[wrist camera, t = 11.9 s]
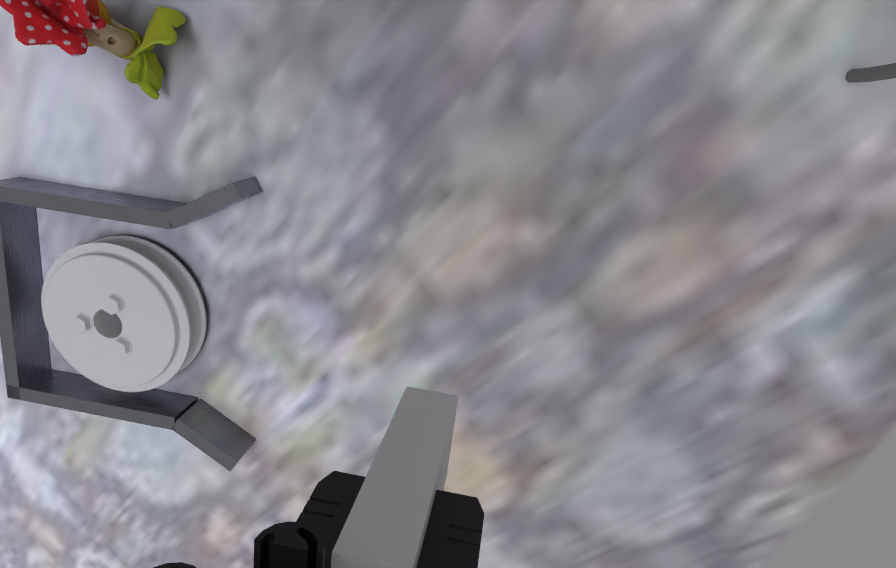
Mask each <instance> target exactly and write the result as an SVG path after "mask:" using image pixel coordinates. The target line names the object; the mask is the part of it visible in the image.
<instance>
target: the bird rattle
mask: <svg viewBox="0 0 896 568" xmlns="http://www.w3.org/2000/svg"><path fill="white" fill-rule="evenodd" d="M0 6H1V7H3V8H4V9H5V10H6V11H8V12H9V13H11V14H12V15H13V19H14V26H15V36H16V38H17V39H18V40H19V41H20V42H21V43H22V44H24V45H37V44H39V45H44V44H56V45H58V46H59V47H60V48H61V49H63V50H64V51H65V52H67V53H68V54H70V55H72V56H78V55H82V54H85V53H86V51H87V47H88V46H98V47H100V48H102V49H105V50H107V51H110V52H112V53H113V54H115V55H117V56H119V57H121V58H124V59H127V60H132V61H131V62H130V63H129V64H128V65H127V67H126V69H125V76H126V78H127V80H128V81H130V82H131V83H137V84H138V85H139V86H140V87H141V89H142V91H144V92H145V93H146V94H147V95H149V96H150V97H152V98H153V99H158V98H159V93H158V91H159V89H160V88H161V86H162V77H163V74H164V71H163V68H162V66H161V65H160V63H159V61H158V59H157V56H156V55H155V53H154V52H152V51H151V50H152V49H154V47H155V46H156V44H157V43H158V44H163V45H167V46H170V45H173V44H175V43H176V41H177V33H176V32H175V30H174V29H173V27H179V26H180V25H182V24H184V23H185V21H186V20H185V18H184V16H183V14H182V13H181V12H179V11H176V10H173V9H170V8H164V7H161V6H159V7H157V8H156V10H155V13H154V15H153V17H152V19H151V21H150V23H149V25H148V28H147V30H146V33H145V35H144V38H143V37H142V36H141V35H140V34H139V33H138V32H136V31H134V30H132V29H128V28H126V27H125V26H123V25H122V24H120V23H118V22H117V21H115V20H113V19H112V18H111V17H110V14H109V12H108V10H107V8H106V7H105V5H104V4H103V3H102V2H101V1H100V0H0Z"/></svg>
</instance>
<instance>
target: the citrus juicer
mask: <svg viewBox="0 0 896 568" xmlns="http://www.w3.org/2000/svg"><path fill="white" fill-rule="evenodd" d="M891 78H896V63H893V64H887V65H881V66H875V67H869V68H862V69H853V70H850V71H849V72H848V73H847V75H846V80H847V81H848V82H870V81H878V80H885V79H891Z"/></svg>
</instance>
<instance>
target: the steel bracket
mask: <svg viewBox="0 0 896 568" xmlns="http://www.w3.org/2000/svg"><path fill="white" fill-rule="evenodd" d="M260 192H262V190H261V187H260V185H259V183H258V181H257V179H256V177H254V178H250V179H246V180H243V181H239V182H236V183H233V184H230V185H228V186H226V187H224V188H222V189H219V190H217V191H215V192H213V193H210V194H208V195H206V196H204V197H202V198H199V199H197V200H195V201H193V202H190V203H188V204H186V203H180V202H173V201H167V200H161V199H154V198H148V197H142V196H135V195H129V194H123V193H116V192H110V191H104V190H97V189H91V188H85V187H78V186H72V185H65V184H59V183H53V182H46V181H40V180H34V179H27V178H21V177H18V178H11V179H5V180H0V338H1V346H2V354H3V363H4V371H5V379H6V387H7V395H8V398H14V399H19V400H24V401H29V402H34V403H39V404H44V405H49V406H54V407H59V408H64V409H69V410H74V411H79V412H84V413H90V414H95V415H100V416H105V417H110V418H115V419H120V420H125V421H130V422H135V423H140V424H145V425H150V426H155V427H161V428H166V429H171V430H174V431H175V432H176V433H178V434H179V435H181V436H182V437H183V438H185V439H186V440H188V441H189V442H190V443H192V444H193V445H195V446H196V447H197V448H199V449H200V450H201V451H203V452H204V453H206V454H207V455H208V456H210V457H211V458H213V459H214V460H215V461H217V462H218V463H220V464H221V465H222V466H224V467H225V468H226V469H228V470H229V471H231V470H232V469H233V467H234V466H235V465H236V464H237V463H238V461H239V460H240V459H241V458H242V456H243V455H244V454H245V453H246V452H247V450H248V449H249V448H250V447H251V445H252V444H253V443H254V441H255V440H256V439H255V438H254V437H252V436H251V435H250V434H248V433H247V432H245V431H244V430H243V429H241V428H240V427H239V426H237V425H236V424H234V423H233V422H232V421H230V420H229V419H228V418H226V417H225V416H223V415H222V414H221V413H219V412H218V411H217V410H215V409H214V408H212V407H211V406H210V405H208V404H207V403H206V402H204V401H203V400H201V399H200V400H199V401H198V402H197V397H193V396H187V395H182V394H177V393H172V392H166V391H161V390H156V389H150V390H146V391H140V392H124V391H118V390H113V389H110V388H107V387H104V386H102V385H99V384H97V383H95V382H93V381H92V380H90V379H88V378H86V377H85V376H83V375H77V374H72V373H67V372H62V371H56V370H51V363H50V352H49V342H48V332H47V328H46V325H45V322H44V318H43V313H42V306H41V294H42V287H43V280H42V269H41V259H40V248H39V238H38V228H37V217H36V207H37V208H43V209H49V210H56V211H62V212H68V213H74V214H80V215H86V216H92V217H99V218H105V219H111V220H117V221H123V222H129V223H136V224H142V225H148V226H154V227H160V228H166V229H172V228H177V227H180V226H182V225H185V224H188V223H191V222H193V221H196V220H199V219H201V218H204V217H206V216H208V215H210V214H213V213H215V212H217V211H220V210H222V209H224V208H226V207H229V206H231V205H233V204H235V203H238V202H240V201H242V200H245V199H247V198H249V197H251V196H254V195H256V194H258V193H260Z"/></svg>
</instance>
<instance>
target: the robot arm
mask: <svg viewBox="0 0 896 568" xmlns="http://www.w3.org/2000/svg"><path fill="white" fill-rule="evenodd" d="M457 401H458V396H456V395H450V394H445V393H439V392H434V391H428V390H423V389H417V388H412V387H406V389H405V392H404V394H403V396H402V398H401V400H400V403H399V405H398V407H397V409H396V411H395V414H394V416H393V418H392V420H391V423H390V425H389V427H388V429H387V431H386V434H385V436H384V438H383V440H382V443H381V445H380V447H379V449H378V451H377V454H376V456H375V458H374V460H373V463H372V465H371V467H370V469H369V471H368V474H367V476H366V477H363V476H358V475H353V474H348V473H343V472H338V471H333V472H332V473H330V474H329V475H328V476H326V477H325V478H324V479H322V480H321V481H320V482H318V484H317V486H316V488H315V489H314V491H313V493H312V495H311V496H310V500H308V502H307V504H306V505H305V507H304V509H303V512H301V514H300V516H299V518H298V519H297V521H296V522H284V523H279V524H275V525H273V526H271V527H269V528H267V529H265V530H263V531H262V532H261V533H260V534H259V535H258V536H257V537H256V538H255V539H254V568H477V567H478V559H479V551H480V543H481V535H482V527H483V519H484V512H483V510H482V508H481V505H480V503H479V500H478V498H476V497H471V496H466V495H461V494H456V493H451V492H446V491H443V489H444V485H445V481H446V476H447V469H448V463H449V456H450V449H451V442H452V435H453V428H454V422H455V415H456V408H457ZM154 568H196V567H195V566H193V565H189V564H185V563H182V562H181V563H166V564H163V565H160V566H157V567H154Z"/></svg>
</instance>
